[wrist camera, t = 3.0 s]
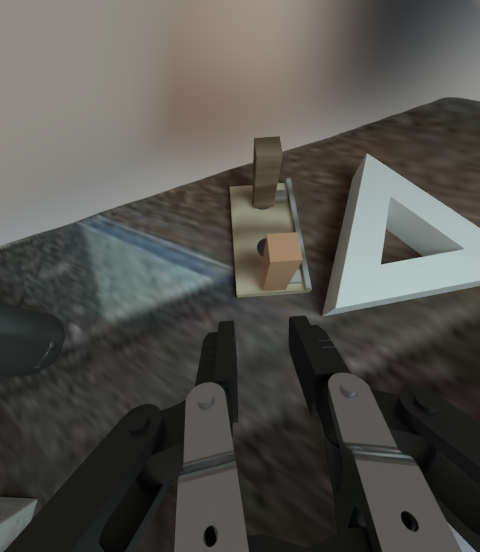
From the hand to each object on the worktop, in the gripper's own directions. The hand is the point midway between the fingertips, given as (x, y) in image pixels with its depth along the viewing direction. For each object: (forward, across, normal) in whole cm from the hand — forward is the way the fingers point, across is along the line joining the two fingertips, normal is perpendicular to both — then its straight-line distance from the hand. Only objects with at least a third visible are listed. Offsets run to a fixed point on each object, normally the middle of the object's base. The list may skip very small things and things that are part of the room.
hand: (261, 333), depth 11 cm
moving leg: (+23, -6, +8) cm, 25 cm away
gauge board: (+31, -4, +3) cm, 31 cm away
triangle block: (+27, -30, +8) cm, 41 cm away
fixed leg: (+34, -6, -3) cm, 35 cm away
